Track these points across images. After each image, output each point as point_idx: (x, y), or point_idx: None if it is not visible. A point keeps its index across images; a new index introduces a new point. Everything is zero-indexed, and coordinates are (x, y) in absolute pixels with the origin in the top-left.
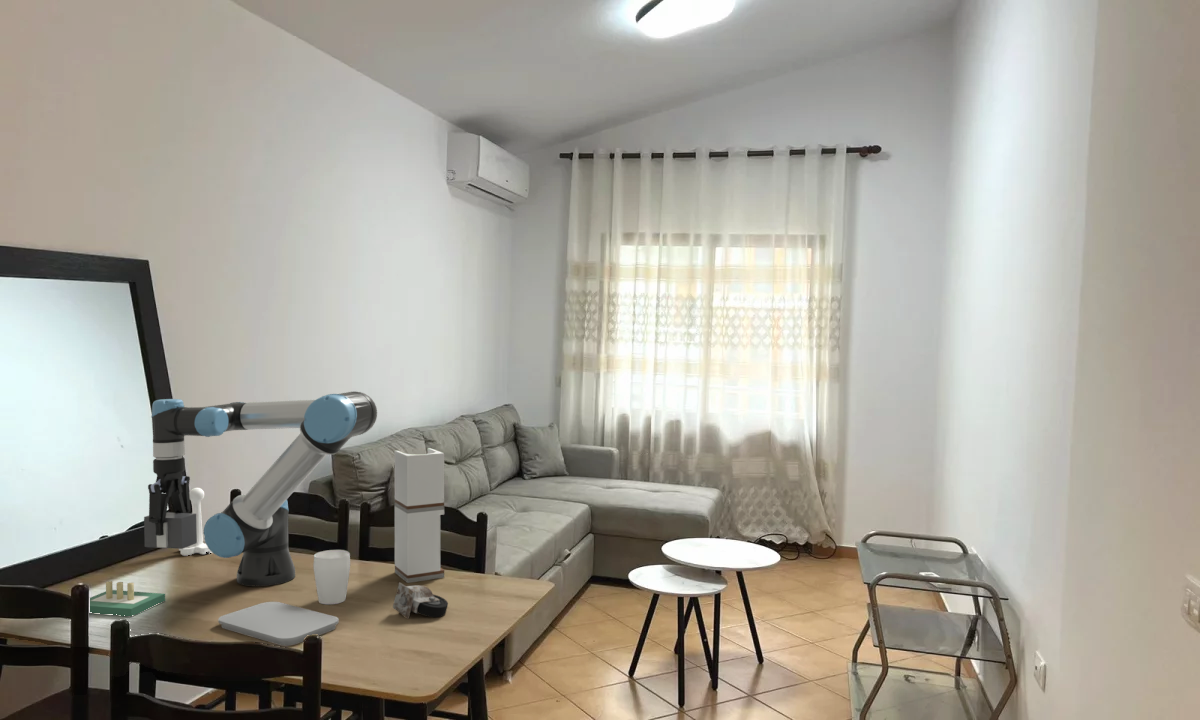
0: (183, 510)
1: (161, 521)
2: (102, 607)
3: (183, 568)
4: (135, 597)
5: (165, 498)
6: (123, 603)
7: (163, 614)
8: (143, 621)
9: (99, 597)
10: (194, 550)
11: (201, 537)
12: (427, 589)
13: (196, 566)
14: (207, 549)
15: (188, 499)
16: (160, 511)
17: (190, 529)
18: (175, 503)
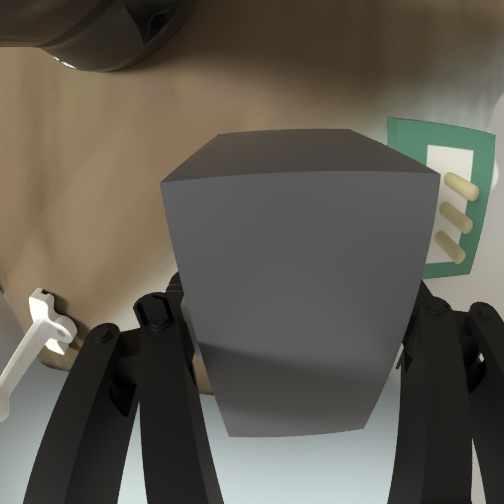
0: (167, 349)
1: (449, 307)
2: (485, 207)
3: (125, 273)
4: None
5: (470, 486)
6: (470, 177)
7: (460, 69)
8: (496, 91)
9: (436, 259)
10: (56, 318)
11: (32, 329)
12: None
13: (100, 257)
14: (41, 297)
15: (68, 413)
16: (499, 362)
17: (277, 142)
18: (204, 444)
